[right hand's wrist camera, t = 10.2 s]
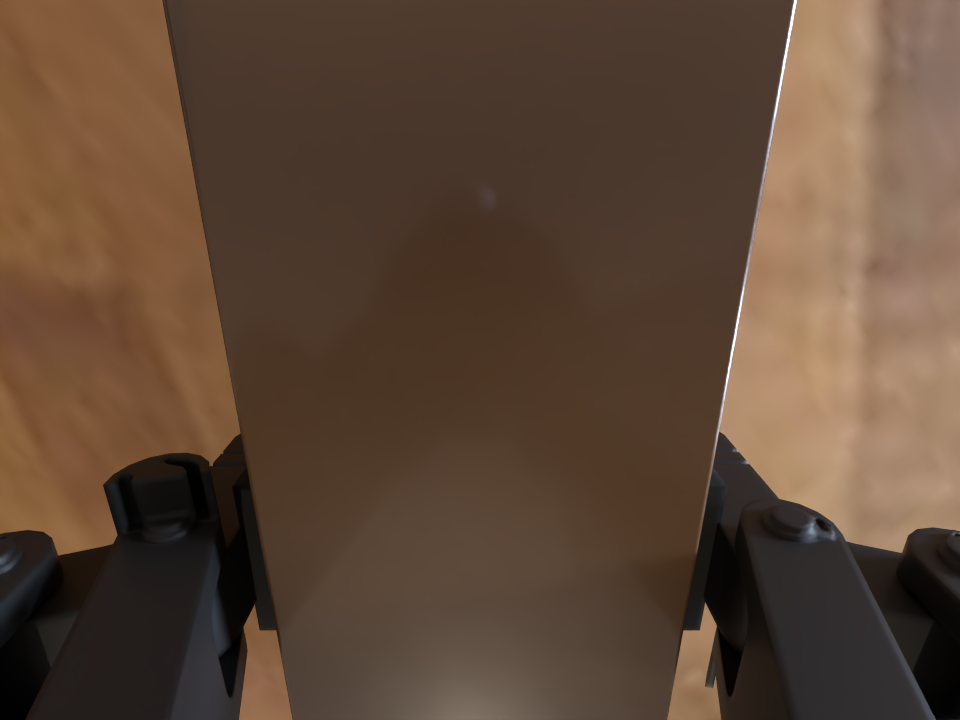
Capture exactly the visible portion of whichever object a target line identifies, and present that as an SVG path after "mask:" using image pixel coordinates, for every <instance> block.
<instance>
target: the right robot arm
mask: <svg viewBox="0 0 960 720" xmlns="http://www.w3.org/2000/svg"><path fill="white" fill-rule="evenodd" d="M736 450H737V449H736V448H735V447H734V446H733V445H732V443H731V442H730V441H729V440H728V439H727V437H726V436H725V435H724V434H722V433H720V432H719V435H718V441H717V446H716V452H715V457H714V463H713V468H712V474H711V479H710V485H709V490H708V496H707V501H706V507H705V512H704V518H703V523H702V529H701V535H700V540H699V546H698V551H697V557H696V562H695V568H694V573H693V579H692V584H691V590H690V595H689V601H688V606H687V612H686V617H685V623H684V628H683V630H700V626H701V621H702V616H703V610H704V605H705V602H706V604H707V606H708V608H709V610H710V612H711V614H712V616H713V618H714V620H715V622H716V624H717V628H716V633H715V638H714V642H713V647H712V652H711V657H710V662H709V666H708V671H707V677H706V684H705V686H706V687H710V688H713V685H714V680H715V676H716V681H717V689H718V696H719V704H720V712H721V720H960V531H956V530H948V529H940V528H924V529H917V530H915V531H914V532H913V533H911V534H910V535H908V538H907V541H906V544H905V547H904V549H903V552H902V553H898V552H893V551H888V550H883V549H878V548H873V547H868V546H863V545H858V544H854V543H850V542H846V541H845V539H844V537H843V535H842V533H841V532H840V531H839V530H838V528H837V527H836V526H835V525H834V523H833V522H831V521H830V520H828V519H827V518H825V517H824V516H823V515H821V514H820V513H818V512H816V511H814V510H812V509H809V508H807V507H805V506H803V505H800V504H797V503H793V502H789V501H785V500H781V499H779V498H778V497H777V496H776V495H775V494H774V492H773V491H772V490H771V489H770V488H769V487H768V485H767V484H766V483H765V482H764V481H763V480H762V478H761V477H760V476H759V475H758V474H757V473H756V471H755V470H754V469H753V468H752V467H751V466H750V464H747V461H746V460H745V459H744V457H743V456H742V455H741V454H740V453H739V452H737V451H736ZM103 487H104V490H105V493H106V497H107V500H108V503H109V507H110V510H111V514H112V517H113V520H114V524H115V527H116V531H117V534H118V536H117V538H116V540H115V542H114V544H112V545H108V546H104V547H99V548H94V549H89V550H84V551H79V552H74V553H69V554H64V555H59V556H58V554H57V551H56V548H55V545H54V542H53V540H52V538H51V537H50V536H48V535H47V534H46V533H44V532H40V531H31V530H25V531H17V532H10V533H3V534H0V720H239V714H240V706H241V698H242V690H243V682H244V674H245V666H246V658H247V644H246V638H245V633H244V628H243V627H244V625H245V622H246V620H247V618H248V616H249V614H250V612H251V610H252V608H253V606H254V604H255V607H256V613H257V618H258V623H259V628H260V630H276V625H275V619H274V614H273V608H272V603H271V597H270V592H269V586H268V580H267V575H266V569H265V564H264V558H263V553H262V547H261V542H260V536H259V531H258V525H257V520H256V514H255V509H254V503H253V498H252V492H251V487H250V481H249V476H248V470H247V464H246V459H245V453H244V448H243V442H242V437H241V434H239V435H238V436H236V437H235V438H234V439H233V440H232V442H231V443H230V444H229V445H228V446H227V447H226V449H225V450H224V451H223V454H221V455H220V456H219V457H218V458H217V459H216V460H215V462H214V463H213V466H209V461H207V460H206V459H205V458H203V457H202V456H200V455H195V454H190V453H171V454H164V455H160V456H155V457H150V458H147V459H144V460H142V461H139V462H136V463H134V464H131V465H129V466H127V467H125V468H124V469H122V470H120V471H119V472H117V473H115V474H114V475H113V476H112V477H111V478H110V479H109V480H108V481H107V482H106V483H105V484H104V485H103Z"/></svg>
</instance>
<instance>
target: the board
mask: <svg viewBox="0 0 960 720" xmlns="http://www.w3.org/2000/svg"><path fill="white" fill-rule="evenodd" d="M162 1H163V6H164V12H165V17H166V23H167V28H168V34H169V39H170V45H171V50H172V56H173V61H174V67H175V72H176V78H177V83H178V89H179V95H180V100H181V106H182V111H183V117H184V122H185V128H186V133H187V139H188V144H189V150H190V155H191V161H192V166H193V172H194V177H195V183H196V188H197V194H198V199H199V205H200V210H201V216H202V222H203V227H204V233H205V238H206V244H207V249H208V255H209V260H210V266H211V271H212V277H213V282H214V288H215V293H216V299H217V304H218V310H219V315H220V321H221V326H222V332H223V337H224V343H225V349H226V354H227V360H228V365H229V371H230V376H231V382H232V387H233V393H234V398H235V404H236V409H237V415H238V420H239V426H240V431H241V437H242V442H243V448H244V453H245V459H246V464H247V470H248V476H249V481H250V487H251V492H252V498H253V503H254V509H255V514H256V520H257V525H258V531H259V536H260V542H261V547H262V553H263V558H264V564H265V569H266V575H267V580H268V586H269V592H270V597H271V603H272V608H273V614H274V619H275V625H276V630H277V636H278V641H279V647H280V652H281V658H282V663H283V669H284V674H285V680H286V685H287V691H288V696H289V702H290V707H291V713H292V719H293V720H667V717H668V711H669V706H670V700H671V695H672V689H673V684H674V678H675V673H676V667H677V662H678V656H679V651H680V645H681V640H682V634H683V628H684V623H685V617H686V612H687V606H688V601H689V595H690V590H691V584H692V579H693V573H694V568H695V562H696V557H697V551H698V546H699V540H700V535H701V529H702V523H703V518H704V512H705V507H706V501H707V496H708V490H709V485H710V479H711V474H712V468H713V463H714V457H715V452H716V446H717V441H718V435H719V430H720V424H721V418H722V413H723V407H724V402H725V396H726V391H727V385H728V380H729V374H730V369H731V363H732V358H733V352H734V347H735V341H736V336H737V330H738V325H739V319H740V313H741V308H742V302H743V297H744V291H745V286H746V280H747V275H748V269H749V264H750V258H751V253H752V247H753V242H754V236H755V231H756V225H757V220H758V214H759V208H760V203H761V197H762V192H763V186H764V181H765V175H766V170H767V164H768V159H769V153H770V148H771V142H772V137H773V131H774V126H775V120H776V115H777V109H778V103H779V98H780V92H781V87H782V81H783V76H784V70H785V65H786V59H787V54H788V48H789V43H790V37H791V32H792V26H793V21H794V15H795V10H796V4H797V0H162Z"/></svg>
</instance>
